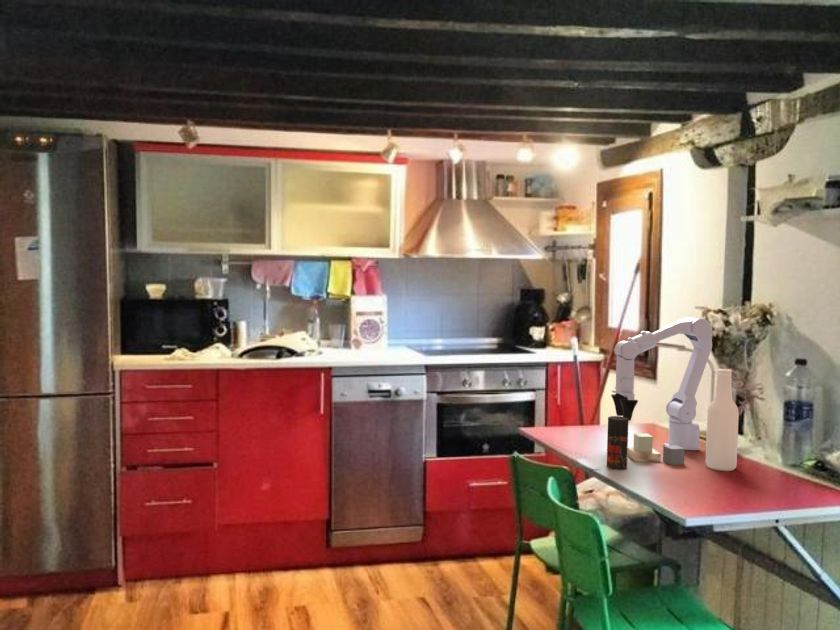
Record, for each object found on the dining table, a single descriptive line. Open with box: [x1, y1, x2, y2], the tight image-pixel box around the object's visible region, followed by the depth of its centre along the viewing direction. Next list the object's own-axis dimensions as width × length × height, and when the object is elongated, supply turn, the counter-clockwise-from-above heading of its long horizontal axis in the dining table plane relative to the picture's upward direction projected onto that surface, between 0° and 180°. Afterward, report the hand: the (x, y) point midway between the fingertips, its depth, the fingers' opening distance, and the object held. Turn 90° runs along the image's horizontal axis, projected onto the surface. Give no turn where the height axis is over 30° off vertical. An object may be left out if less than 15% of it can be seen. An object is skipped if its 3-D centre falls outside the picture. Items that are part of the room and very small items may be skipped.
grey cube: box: [662, 445, 686, 466], centre depth 236 cm, size 4×4×5 cm
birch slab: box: [627, 447, 662, 462], centre depth 241 cm, size 8×8×2 cm
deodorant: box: [606, 415, 629, 471], centre depth 229 cm, size 6×6×15 cm
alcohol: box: [704, 368, 740, 472], centre depth 230 cm, size 9×9×30 cm
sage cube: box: [633, 433, 654, 452], centre depth 241 cm, size 4×4×5 cm
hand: (623, 418), depth 253 cm, fingers open, 7 cm apart
